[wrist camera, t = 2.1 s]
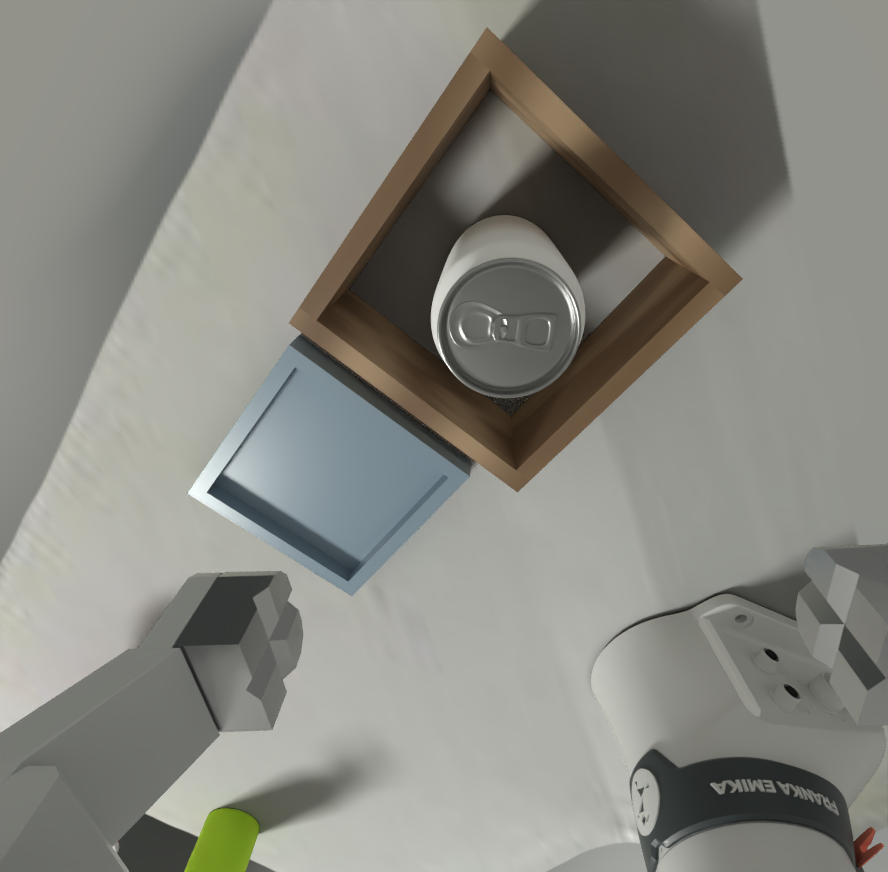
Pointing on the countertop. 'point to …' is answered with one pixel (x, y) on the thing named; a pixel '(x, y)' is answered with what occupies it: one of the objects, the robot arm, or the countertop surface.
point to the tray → (328, 469)
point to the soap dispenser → (224, 842)
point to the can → (507, 309)
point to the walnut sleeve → (598, 357)
